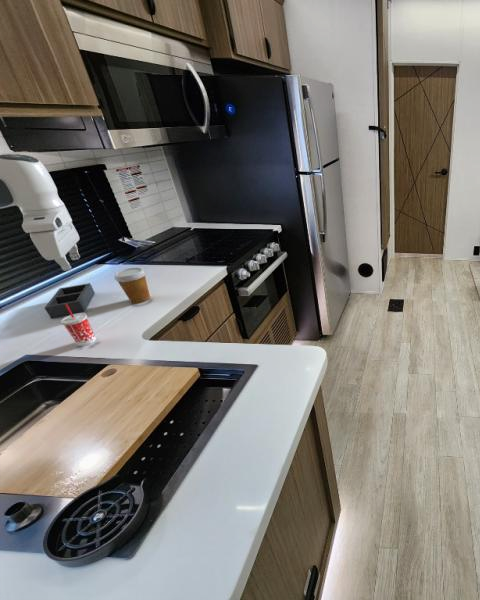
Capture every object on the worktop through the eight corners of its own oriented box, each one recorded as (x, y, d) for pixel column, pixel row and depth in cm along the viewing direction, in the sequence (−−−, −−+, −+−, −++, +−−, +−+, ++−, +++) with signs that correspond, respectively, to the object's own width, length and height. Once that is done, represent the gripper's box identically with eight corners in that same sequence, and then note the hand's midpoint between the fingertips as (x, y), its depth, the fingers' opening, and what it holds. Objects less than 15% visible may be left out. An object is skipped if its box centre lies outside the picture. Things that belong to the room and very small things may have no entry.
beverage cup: (102, 334, 109) (83, 297, 103) (93, 345, 104) (72, 307, 98) (80, 338, 108) (59, 300, 101) (70, 348, 103) (46, 310, 96)
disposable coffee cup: (152, 292, 137) (141, 265, 131) (157, 299, 131) (146, 271, 125) (124, 299, 131) (111, 272, 125) (128, 308, 125) (115, 279, 119)
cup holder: (51, 318, 119) (44, 307, 117) (65, 298, 133) (59, 288, 130) (84, 312, 123) (78, 301, 121) (95, 293, 137) (90, 283, 135)
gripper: (45, 211, 98) (68, 255, 105) (18, 228, 83) (47, 278, 89) (73, 209, 101) (93, 251, 108) (52, 224, 85) (77, 273, 92)
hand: (72, 264), depth 98 cm, fingers open, 8 cm apart
